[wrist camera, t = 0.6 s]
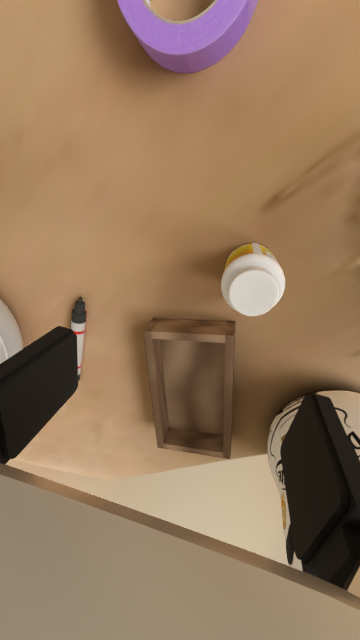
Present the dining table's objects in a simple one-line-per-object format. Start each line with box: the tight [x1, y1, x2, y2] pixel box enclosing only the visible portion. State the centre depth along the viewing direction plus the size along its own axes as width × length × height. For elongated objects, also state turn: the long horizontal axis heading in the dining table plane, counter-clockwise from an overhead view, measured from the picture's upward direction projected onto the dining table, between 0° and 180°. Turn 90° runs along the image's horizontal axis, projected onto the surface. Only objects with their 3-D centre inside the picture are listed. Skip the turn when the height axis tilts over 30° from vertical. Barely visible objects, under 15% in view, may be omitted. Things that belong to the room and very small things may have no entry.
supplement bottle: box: [221, 243, 285, 316], centre depth 25 cm, size 6×6×10 cm
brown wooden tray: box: [143, 318, 235, 459], centre depth 36 cm, size 11×20×4 cm, turn 3°
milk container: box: [268, 390, 360, 571], centre depth 28 cm, size 17×17×18 cm
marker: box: [71, 297, 86, 381], centre depth 39 cm, size 15×2×2 cm, turn 165°
